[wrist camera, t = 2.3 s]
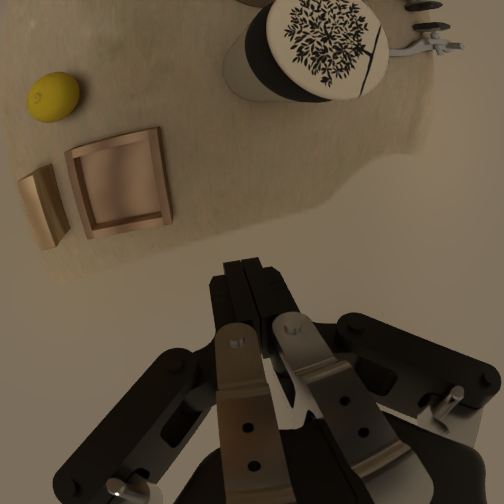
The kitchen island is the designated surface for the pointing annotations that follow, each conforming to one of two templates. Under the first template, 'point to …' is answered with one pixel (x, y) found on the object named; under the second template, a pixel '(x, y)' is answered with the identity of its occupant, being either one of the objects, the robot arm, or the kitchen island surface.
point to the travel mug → (308, 52)
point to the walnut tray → (120, 183)
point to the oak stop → (44, 207)
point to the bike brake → (427, 44)
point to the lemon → (53, 97)
